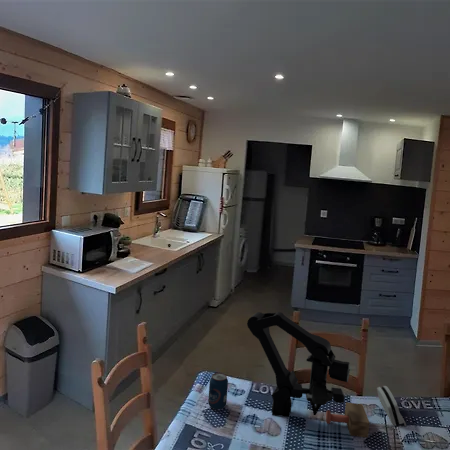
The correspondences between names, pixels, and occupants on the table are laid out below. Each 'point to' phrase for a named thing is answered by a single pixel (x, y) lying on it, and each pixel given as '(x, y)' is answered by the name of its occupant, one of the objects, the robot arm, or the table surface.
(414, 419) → the table surface
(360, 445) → the table surface
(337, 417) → the pin
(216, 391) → the soda can
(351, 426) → the block
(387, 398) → the white curved piece
